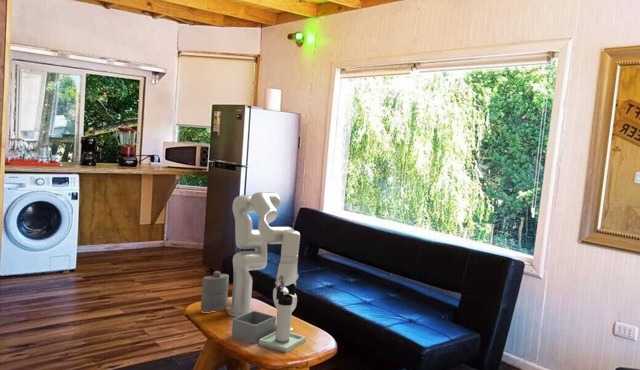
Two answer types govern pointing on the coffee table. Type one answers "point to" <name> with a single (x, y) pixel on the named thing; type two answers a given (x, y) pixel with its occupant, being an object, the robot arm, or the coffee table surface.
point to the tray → (283, 347)
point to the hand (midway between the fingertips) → (285, 297)
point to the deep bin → (253, 326)
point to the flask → (214, 292)
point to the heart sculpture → (284, 294)
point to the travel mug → (284, 319)
